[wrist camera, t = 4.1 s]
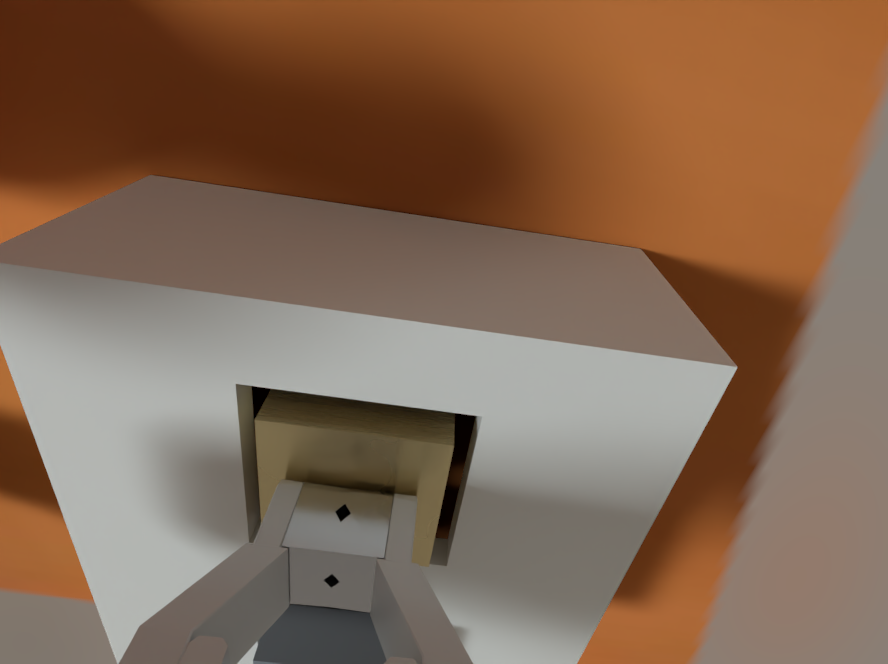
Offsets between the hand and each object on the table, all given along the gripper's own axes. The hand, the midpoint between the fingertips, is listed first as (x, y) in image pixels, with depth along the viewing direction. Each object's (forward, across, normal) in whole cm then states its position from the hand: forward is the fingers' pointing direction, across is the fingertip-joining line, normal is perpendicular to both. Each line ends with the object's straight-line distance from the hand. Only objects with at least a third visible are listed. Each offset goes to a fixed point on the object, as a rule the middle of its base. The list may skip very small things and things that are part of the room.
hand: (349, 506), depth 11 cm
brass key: (+4, 0, 0) cm, 4 cm away
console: (+6, 0, +3) cm, 7 cm away
